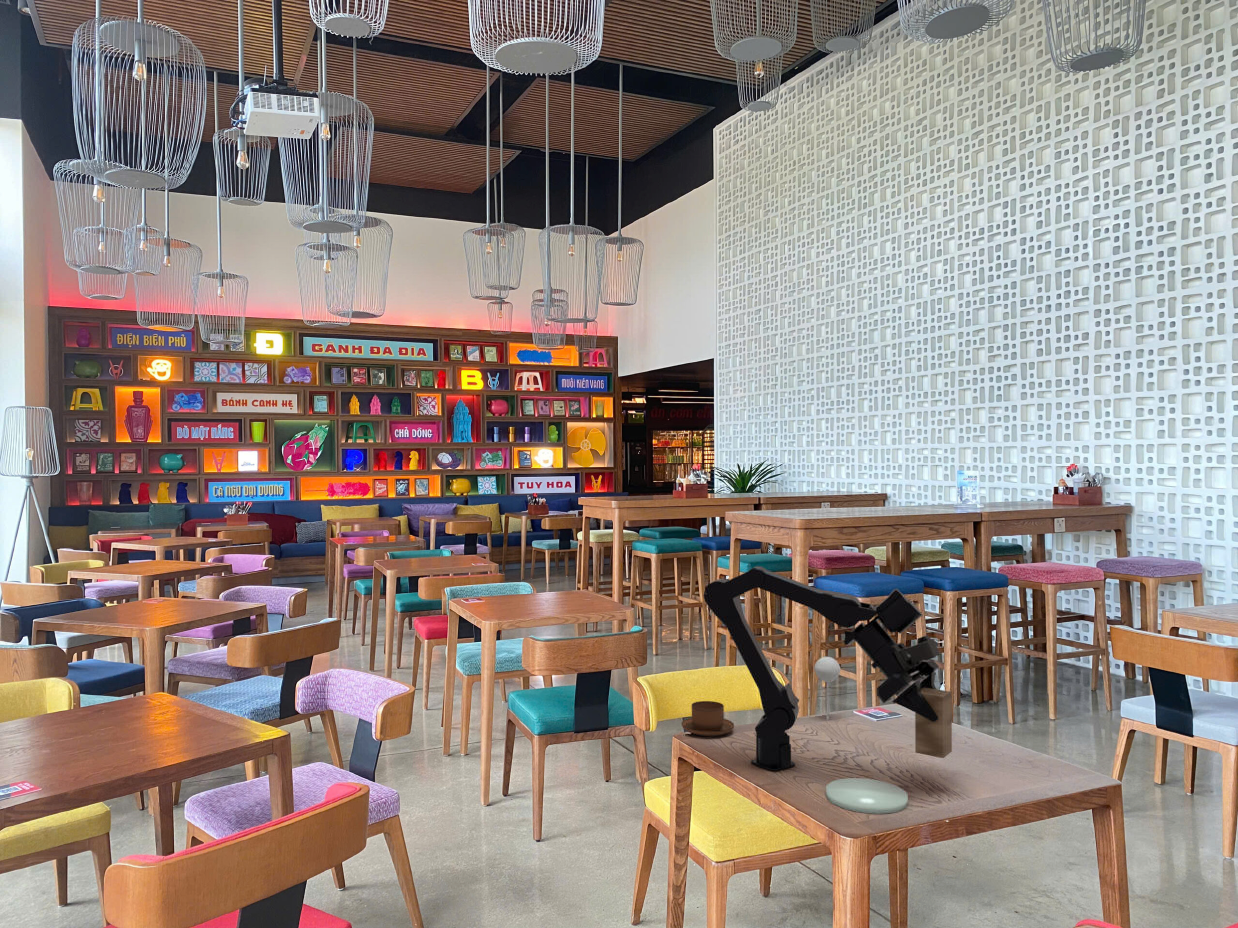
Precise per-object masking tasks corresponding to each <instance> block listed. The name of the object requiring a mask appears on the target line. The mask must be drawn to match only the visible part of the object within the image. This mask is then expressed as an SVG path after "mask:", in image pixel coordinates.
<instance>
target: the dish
mask: <svg viewBox="0 0 1238 928" xmlns="http://www.w3.org/2000/svg"><path fill="white" fill-rule="evenodd" d="M825 796H826V799H827V800H828V802H830V803H831V804H833V805H835V806H837V807H839V808H842V809H845V810H847V811H852V812H857V813H862V814H863V813H864V814H872V815H874V814H875V815H877V814H878V815H885V814H894V813H898V812H901V811H904V810H905V809H906V808H907V807H908V804H909V796H908V793H907V792H906V791H905V790H904V789H903V788H901V787H899V786H897V785H895V784H892V783H890V782H886V781H883V780H878V779H872V778H861V777H859V778H858V777H856V778H855V777H852V778H851V777H850V778H848V777H847V778H841V779H835V780H832V781H831V782H829V783H828V784H827V785H826V787H825Z"/></svg>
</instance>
